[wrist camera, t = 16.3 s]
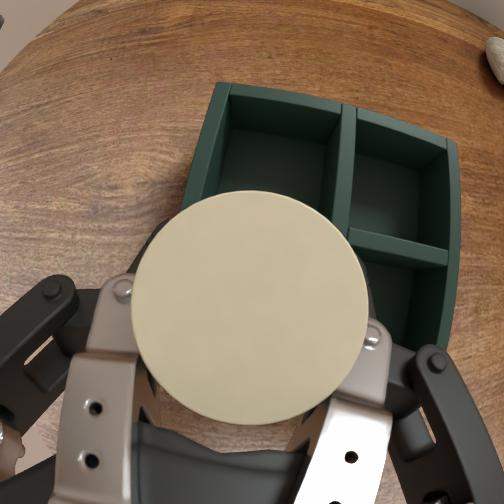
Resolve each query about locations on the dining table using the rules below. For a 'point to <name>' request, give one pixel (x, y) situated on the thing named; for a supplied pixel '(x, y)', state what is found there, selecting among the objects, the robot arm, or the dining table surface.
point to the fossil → (496, 57)
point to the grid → (348, 191)
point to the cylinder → (249, 308)
